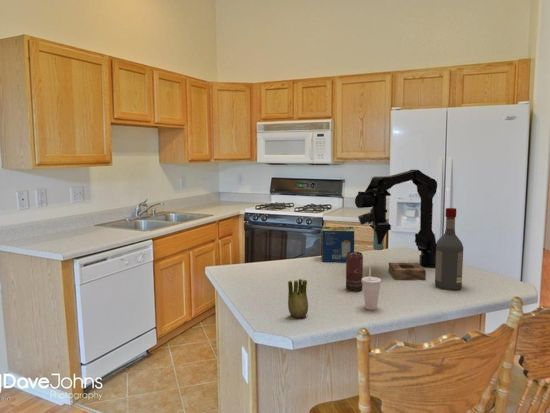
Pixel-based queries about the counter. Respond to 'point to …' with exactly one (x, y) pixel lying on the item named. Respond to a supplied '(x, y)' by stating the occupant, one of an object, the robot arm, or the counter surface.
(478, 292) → the counter surface
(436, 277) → the liquor
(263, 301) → the counter surface
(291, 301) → the fennel bulb
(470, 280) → the counter surface
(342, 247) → the protein box
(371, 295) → the smoothie
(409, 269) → the socket block
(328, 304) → the counter surface
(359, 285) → the can
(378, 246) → the pin
